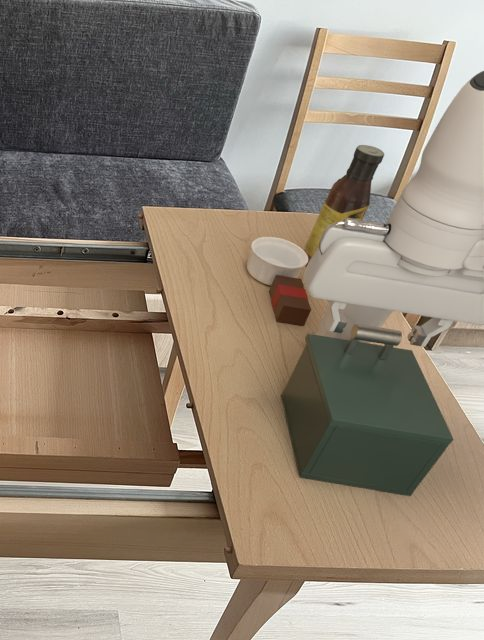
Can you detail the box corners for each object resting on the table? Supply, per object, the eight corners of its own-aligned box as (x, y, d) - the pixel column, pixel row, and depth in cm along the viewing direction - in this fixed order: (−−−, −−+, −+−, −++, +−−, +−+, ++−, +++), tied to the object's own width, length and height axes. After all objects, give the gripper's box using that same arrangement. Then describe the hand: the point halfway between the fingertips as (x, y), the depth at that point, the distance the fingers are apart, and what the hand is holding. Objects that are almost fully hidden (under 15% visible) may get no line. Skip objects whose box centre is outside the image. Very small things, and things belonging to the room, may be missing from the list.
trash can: (280, 395, 89) (306, 343, 83) (379, 411, 89) (411, 360, 83) (299, 477, 79) (329, 424, 73) (410, 496, 78) (449, 444, 73)
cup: (357, 383, 92) (398, 312, 85) (298, 360, 95) (332, 289, 87) (366, 351, 98) (405, 282, 90) (310, 330, 101) (343, 261, 93)
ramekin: (276, 255, 116) (285, 233, 113) (310, 286, 110) (320, 263, 107) (232, 262, 113) (240, 239, 110) (264, 293, 107) (274, 270, 104)
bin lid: (304, 338, 84) (319, 307, 81) (409, 355, 84) (428, 324, 81) (329, 424, 73) (347, 391, 70) (449, 444, 73) (474, 412, 69)
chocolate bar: (294, 295, 107) (302, 278, 105) (304, 326, 101) (311, 309, 99) (268, 290, 107) (275, 274, 105) (276, 321, 101) (283, 305, 99)
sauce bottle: (329, 278, 112) (383, 164, 99) (293, 261, 115) (341, 148, 102) (344, 264, 116) (398, 152, 103) (310, 248, 119) (358, 137, 106)
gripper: (338, 231, 69) (288, 337, 78) (546, 264, 68) (472, 368, 77) (325, 201, 73) (279, 304, 82) (520, 232, 73) (452, 333, 82)
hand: (374, 335), depth 80 cm, fingers open, 8 cm apart
